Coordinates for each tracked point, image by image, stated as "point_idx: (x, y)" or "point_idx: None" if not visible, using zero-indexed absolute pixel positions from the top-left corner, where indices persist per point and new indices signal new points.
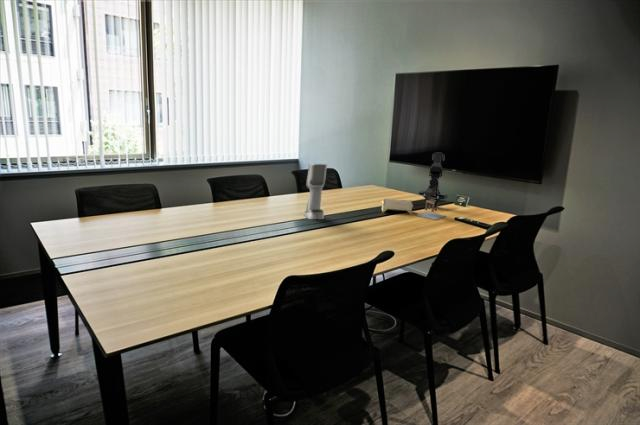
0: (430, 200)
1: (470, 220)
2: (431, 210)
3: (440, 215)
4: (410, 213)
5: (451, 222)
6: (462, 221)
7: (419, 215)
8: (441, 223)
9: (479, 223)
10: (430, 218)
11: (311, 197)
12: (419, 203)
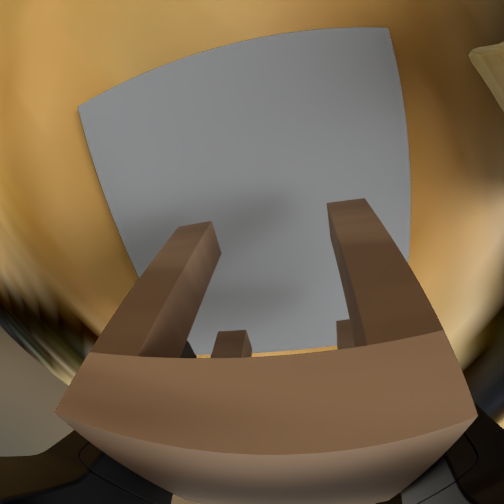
0: (294, 485)
1: (65, 364)
2: (206, 232)
3: (205, 324)
4: (478, 49)
5: (13, 216)
6: (40, 313)
7: (349, 51)
8: (4, 98)
9: (21, 342)
10: (133, 79)
11: None
12: (491, 407)
